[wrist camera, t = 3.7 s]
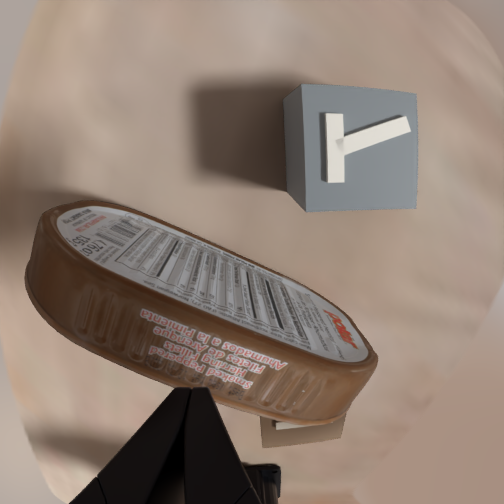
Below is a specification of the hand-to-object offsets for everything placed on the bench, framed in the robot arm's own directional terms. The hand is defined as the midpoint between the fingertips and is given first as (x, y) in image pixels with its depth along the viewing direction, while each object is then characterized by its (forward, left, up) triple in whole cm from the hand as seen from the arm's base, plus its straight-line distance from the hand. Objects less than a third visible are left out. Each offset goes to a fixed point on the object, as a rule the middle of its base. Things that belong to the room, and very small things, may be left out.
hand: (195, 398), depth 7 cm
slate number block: (+6, -6, -10) cm, 13 cm away
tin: (0, 0, -10) cm, 10 cm away
